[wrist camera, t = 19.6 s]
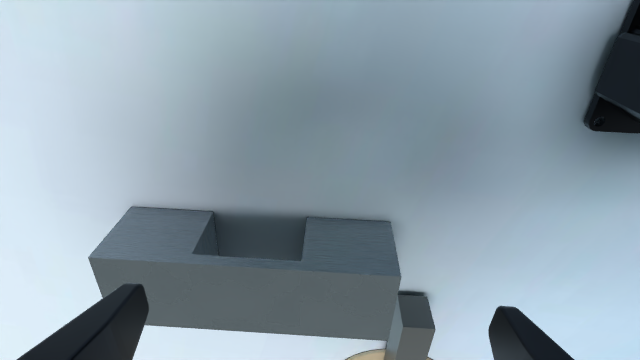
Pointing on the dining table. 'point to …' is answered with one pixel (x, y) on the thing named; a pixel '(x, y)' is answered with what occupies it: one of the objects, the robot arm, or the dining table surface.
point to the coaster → (371, 355)
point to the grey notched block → (255, 276)
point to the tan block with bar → (410, 329)
